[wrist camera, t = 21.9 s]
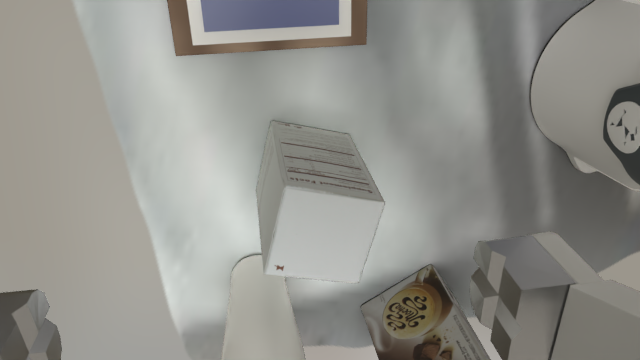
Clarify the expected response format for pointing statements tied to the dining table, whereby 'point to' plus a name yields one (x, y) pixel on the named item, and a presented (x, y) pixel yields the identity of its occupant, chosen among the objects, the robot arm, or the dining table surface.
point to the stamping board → (186, 47)
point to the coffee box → (421, 322)
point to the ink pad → (267, 20)
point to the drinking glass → (260, 316)
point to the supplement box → (315, 205)
